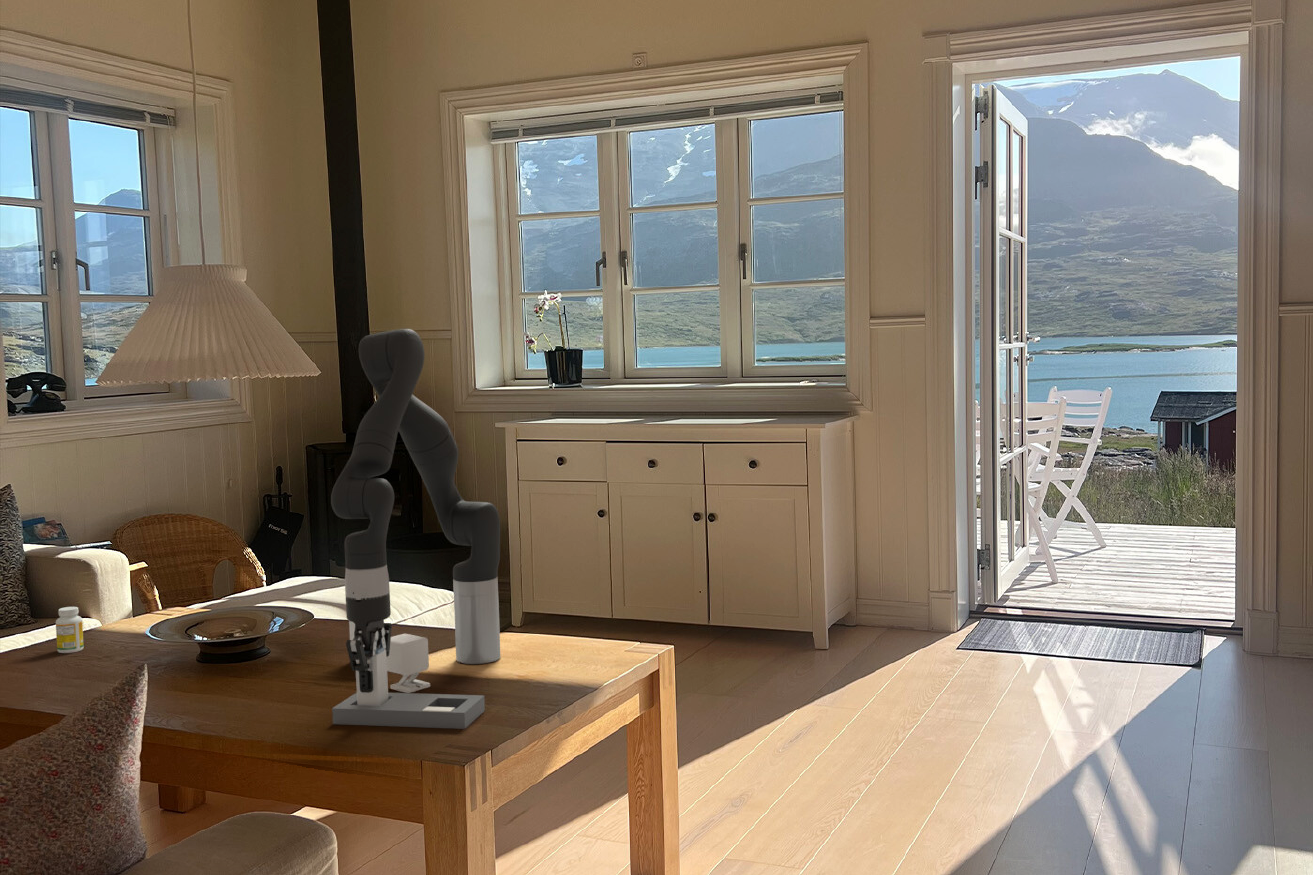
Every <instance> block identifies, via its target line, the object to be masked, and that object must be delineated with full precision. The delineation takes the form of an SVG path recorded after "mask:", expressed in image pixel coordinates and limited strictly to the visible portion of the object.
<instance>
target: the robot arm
mask: <svg viewBox="0 0 1313 875" xmlns="http://www.w3.org/2000/svg"><path fill="white" fill-rule="evenodd" d="M358 357H359V361H360V362H359V363H360V364H361V367H362V370H363V372H364V374H365V376H366V377H367V379H368V381H369V382H370V384H371V386H372V388H373V389H374V390H375V392H376V394H377V395H378V397H377V400H376V401H375V402H374V403H372V406H371V407H369V409H368V410H367V411H366V413H365V415H364V417H363V418H362V419H361V421H360V423H359V426H358V428H357V431H356V435H355V439H354V440H355V441H354V444H353V448H352V452H351V455H350V457H349V459H348V461H347V462H346V464H345V465H344V467H343V469H342V471H341V473H340V475H339V476H338V478H337V479H336V482H335V484H334V485H333V487H332V491H331V495H330V505H331V508H332V510H333V512H334V514H335V515H336V516H337V517H339V518H340V519H343V520H344V519H345V520H354V519H355V520H357V519H358V520H359V519H361V520H364V519H365V520H366V519H369V520H370V521H369V525H368V528H367V529H364V530H361V531H355V532H352V533H349V534H348V535H347V536H346V537H345V539H344V560H345V563H344V564H345V575H344V591H345V610H346V611H345V612H346V619H347V621H348V622H349V621H351V622H353V623H355V631H354V638H353V640H350V639H347V640H346V643H345V645H346V650H347V654H348V660H349V663H350V667H351V671H353V672H354V671H355V672H356V671H359V682H360V691H361V692H363V693H370V692H372V691H373V673H372V665H373V662H372V658H373V657H374V656H375V655H376V648H378V647H384V649H385V650H386V657H388V656H389V652H390V641H391V637H392V627H393V626H392V623H391V622H385V620H386V619H389V618H390V617H391V615H392V614H391V613H392V612H391V593H390V592H391V591H390V589H391V588H390V577H389V571H388V565H387V564H388V562H387V535H388V532H389V525H390V524H389V523H390V520H391V516H392V512H393V508H394V503H395V492H394V488H393V486H392V485H391V483H390V482H389V481H388V480H387V479H385V478H382V477H381V478H380V477H378V476H381V475H384V474H387V472H388V471H389V470H390V468H391V466H392V462H393V458H394V453H395V448H396V443H397V438H398V433H399V434H400V436H401V439H402V441H403V443H404V445H405V447H406V449H407V451H408V454H409V456H410V458H411V460H412V462H413V464H414V465H415V467H416V470H417V471H418V473H419V476H421V480H422V482H423V484H424V487H425V489H426V490H427V493H428V495H429V497H430V500H431V502H432V505H433V508H434V511H435V513H436V516H437V519H438V522H439V524H440V527H441V530H442V532H443V534H444V536H445V537H446V539H447V540H448V541H449V542H450V543H451V544H454V545H457V546H465V547H466V546H467V547H470V546H471V549H470V556H469V557H468V558H467V559H466V560H464V561H461V562H458V563H456V564H455V565H454V566H453V568H452V578H453V579H452V582H453V584H452V586H453V587H452V588H453V602H454V604H453V606H454V607H453V608H454V609H453V610H454V613H453V614H454V632H455V634H454V635H455V636H454V638H455V657H456V658H455V659H456V660H457V661H456V662H458V661H459V662H458V663H460V662H461V664H467V665H478V664H479V665H480V664H482V665H483V664H488V663H491V662H492V663H493V662H496V661H499V659H500V658H501V636H500V634H501V632H500V631H501V630H500V610H499V608H500V605H499V584H498V582H499V581H498V578H499V577H498V575H499V574H498V571H499V564H500V560H501V519H500V514H499V511H498V509H497V507H496V506H495V505H494V504H493V503H491V502H486V501H466V500H464V499H463V497H462V496H461V494H460V492H459V490H458V488H457V486H456V483H455V475H456V470H457V467H458V461H459V448H458V445H457V442H456V440H455V438H454V435H453V434H452V431H451V429H450V427H449V425H448V423H447V421H446V420H445V419H444V418H443V417H442V416H441V415H440V414H439V413H438V412H436V411H435V409H433V408H432V407H430V406H429V405H427V404H426V403H424V402H423V401H422V400H420V399H419V398H417V397H416V396H415V395H414V391H415V389H416V386H417V383H418V381H419V379H420V376H421V374H422V371H423V368H424V364H425V363H424V362H425V348H424V344H423V341H422V339H421V337H420V335H419V334H418V333H417V332H416V331H415V330H413V329H411V328H399V329H393V330H388V331H387V330H386V331H382V332H377V333H372V334H368V335H365V336H364V337H362V338H361V340H360V341H359V344H358ZM383 620H384V621H383ZM365 651H370V652H369V653H365ZM366 658H367V660H366ZM356 660H357V663H356Z"/></svg>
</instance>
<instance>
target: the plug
mask: <svg viewBox="0 0 1313 875" xmlns="http://www.w3.org/2000/svg"><path fill="white" fill-rule="evenodd" d="M369 652H370V651H365V653H369ZM366 660H367V658H366ZM372 662H373V665H372V673H373V691H372V692H370V693H363V692H361V691H360V682H359V671H355V679H356V680H355V681H356V682H355V683H356V686H355V687H356V693H357V705H366V706H381V705H382V704H383V703H385V702H386V701H388V693H389V685H388V684H389V682H388V681H389V680H388V671H387V659H386V650H385V649H384V647H378V648H376V655H375V656H374V657H373V658H372ZM356 663H357V660H356Z"/></svg>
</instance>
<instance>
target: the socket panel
mask: <svg viewBox="0 0 1313 875" xmlns="http://www.w3.org/2000/svg"><path fill="white" fill-rule="evenodd" d="M485 702H486V701H485V695H481V694H480V695H479V694H478V695H477V694H448V693H447V694H446V693H445V694H443V693H418V692H417V693H416V692H415V693H414V692H411V693H405V692H388V701H386V702H385V703H383V704H382V705H381V706H366V705H357V692H355V693H354V694H352V695H350V696H349V697H347V698H346V699H345V700H342V701H341V702H340V703H338V704H336V705H335V706H333V707H332V708H331V710H332V712H331V713H332V725H346V726H348V725H350V726H353V725H354V726H372V727H373V726H377V727H378V726H379V727H380V726H381V727H404V728H405V727H406V728H407V727H409V728H427V729H428V728H432V729H433V728H434V729H458V730H460V729H462V730H463V729H464V730H465V729H466V728H468V727H469V726H470V725H471V724H472V723H473V722H474V721H476V719H477V718H479V717H480V716H481V715H482V714H483V713H484V712H485V710H486V706H485V705H486V704H485Z"/></svg>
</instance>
